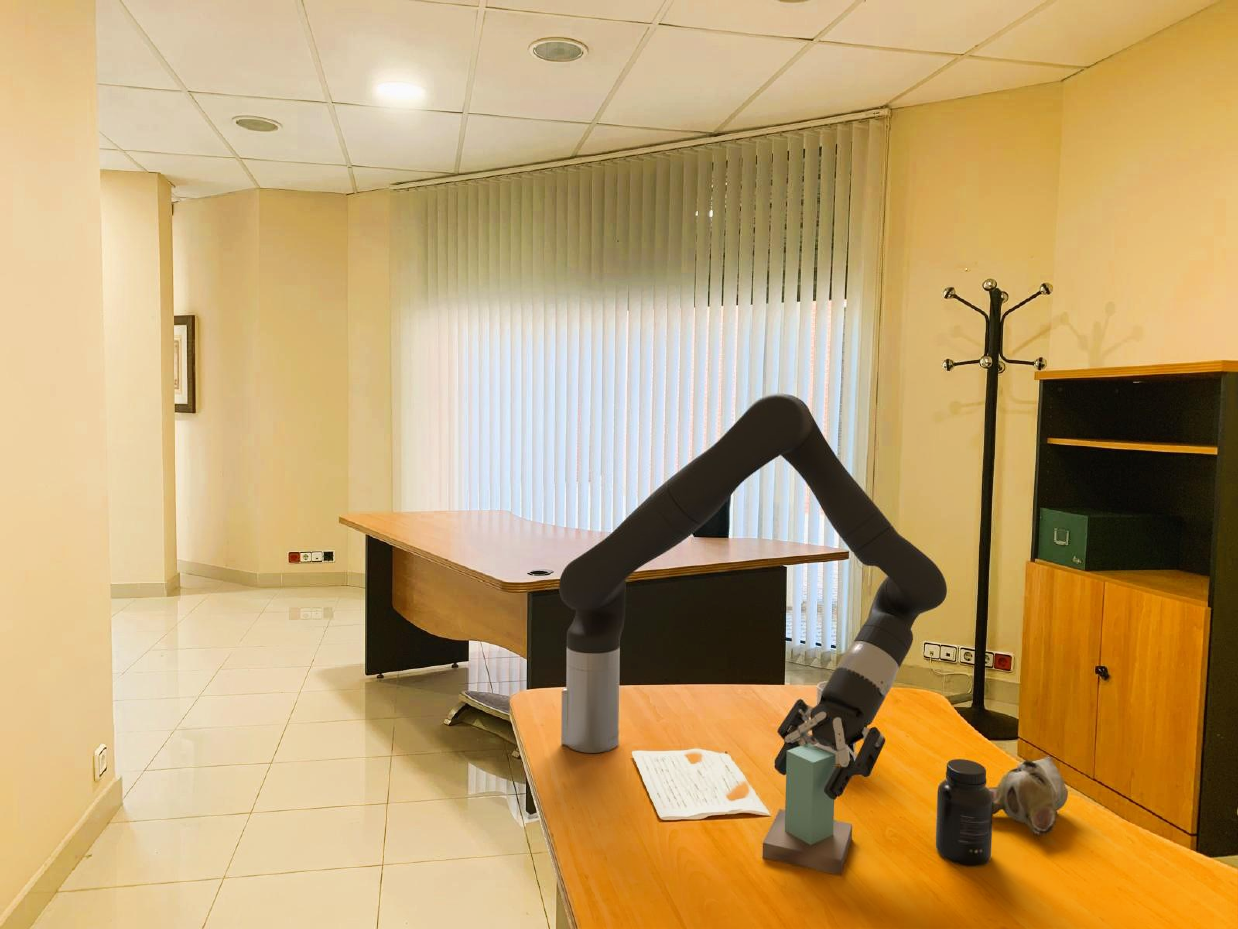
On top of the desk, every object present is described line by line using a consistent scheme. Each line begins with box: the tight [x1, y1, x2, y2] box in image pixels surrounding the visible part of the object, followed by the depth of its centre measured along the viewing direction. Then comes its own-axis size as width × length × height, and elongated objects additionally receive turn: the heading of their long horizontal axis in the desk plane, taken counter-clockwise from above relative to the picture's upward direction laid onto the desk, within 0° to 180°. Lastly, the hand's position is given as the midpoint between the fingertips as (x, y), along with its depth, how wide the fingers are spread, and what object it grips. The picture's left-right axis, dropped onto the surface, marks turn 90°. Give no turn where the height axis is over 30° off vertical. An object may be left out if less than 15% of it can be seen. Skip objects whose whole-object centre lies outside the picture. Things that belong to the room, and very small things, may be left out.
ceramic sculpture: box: [987, 756, 1069, 836], centre depth 118 cm, size 11×9×15 cm
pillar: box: [784, 743, 836, 845], centre depth 109 cm, size 4×4×11 cm
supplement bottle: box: [935, 758, 994, 867], centre depth 108 cm, size 7×7×12 cm
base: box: [762, 808, 853, 876], centre depth 110 cm, size 10×10×2 cm
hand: (803, 783), depth 108 cm, fingers open, 8 cm apart
